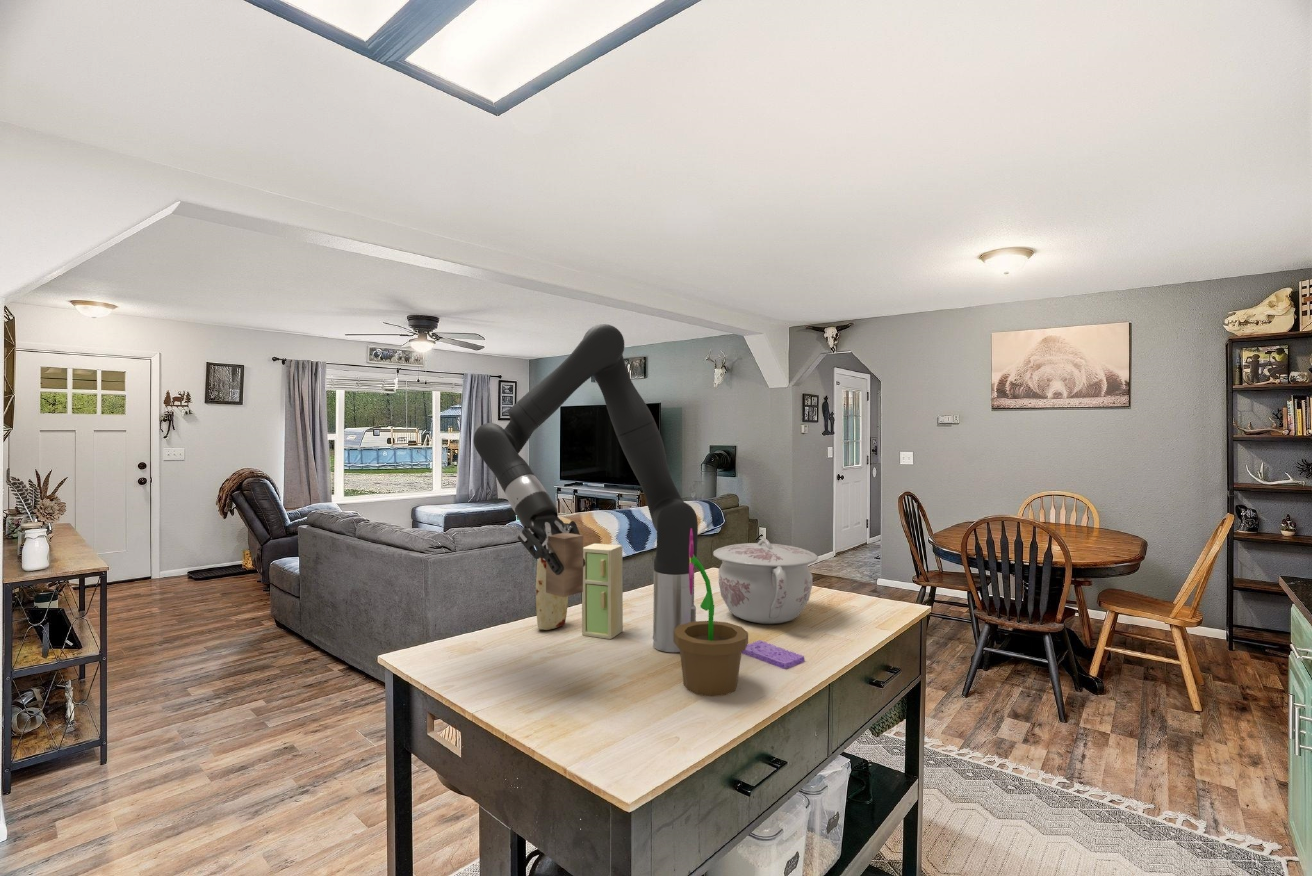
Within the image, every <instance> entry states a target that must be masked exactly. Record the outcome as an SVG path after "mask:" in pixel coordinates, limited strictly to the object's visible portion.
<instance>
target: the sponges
mask: <svg viewBox="0 0 1312 876" xmlns="http://www.w3.org/2000/svg"><path fill="white" fill-rule="evenodd" d="M742 654H743V655H745V656H748V657H751V658H754V659H756V660H759V661H761V662H764V663H768V665H769V664H770V665H772V666H775V667H777V668H779V669H786V670H787V669H789V667H790V668H792V667H794V666H797V665H800V664H802V663H805V655H802V654H799V653H796V652H794V651H790V650H788V649H784V648H782V647H779V646H777V645H774V644H771V643H769V642H767V641H763V640H761V639H759V640H756V641H753V642H752V643H748V645H747V647H746V649H745V650H743V651H742V652H741V655H742Z"/></svg>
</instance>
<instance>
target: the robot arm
mask: <svg viewBox="0 0 1312 876" xmlns="http://www.w3.org/2000/svg"><path fill="white" fill-rule="evenodd" d="M624 352H625V338H624V335H623V334H622V332H621V331H620V330H619V329H618V328H617V327H616V326H614V325H611V324H606V323H601V324H600V323H599V324H596V325H594V326H592V327H590V328H589V329H588V330H587V331H586V332H585V334H584V336H583V338H582V340H581V341H580V342H579V343H578V345H577V346H576V347H575V348H574V350H573V351H572V352H571V353H570V355H568V356H567V358H565V359H564V361H562V363H561V364H560V365H559V366H557V367H556V368H555V369H554V370H553V371H552V372H550V373H549V374H548V375H547V376H546V377H544V378H543V379H542V380H541V381H540V382H538V383H537V384H536V385H535V386H533V388H531V389H530V390H529V391H527V392H526V394H524V395H523V397H520V399H519V400H518V401H517V402H516V403H514V405H512V407H511V408H510V409H509V410H508V417H509V419H510V420H509V422H508V424H507V425H506V426H505V427H502V426H501V425H499V424H497V423H494V422H488V423H484V424H481V425H480V426H479V427H477V429H476V430H475V432H474V435H473V446H474V447H475V448H474V449H475V450H476V452H477V453H478V455H479V456H480V457H481V459H482V461H483V462H484V463H485V464H486V465H487V468H488V469H489V470H490V471H491V472H492V473H493V475H494V476H495V478H496V481H497V482H498V484H499V486H500V487H501V488H502V491H503V493H504V494H505V496H506V498H507V500H508V503H509V505H510V507H511V509H512V510H513V511H514V514H515V515H516V517H517V519H518V520H519V522H520V524H521V526H522V530H521V532H520V533H519V534H518V536H517V539H518V540H519V542H520V543H521V544H522V545H523V546H524V548H525V549H526V550H527V551H528V552H529V553H530V555H531V556H532V557H533V558H534V559H536V560H538V559H539V558H543V559H544V560H546V561H547V563H548V565H549V566H550V568H551V570H552V571H553V572H554V573H555V574H556V575H560V574H561V573H562V571H563V570H564V566H563V565H562V563H561V561H560V560H559V558H558V556H557V555H556V553H553V552H554V549H553V547H552V546H551V544H550V539H549V537H548V536H551V535H554V534H560V533H571V534H577V535H581V533H580V530H579V527H578V525H577V523H576V521H574V520H571V521H570V522H569V523H568V522H567V523H565V522H564V521H563V520H562V519H561V518H559V516H558V508H557V507H556V504H555V503H554V502H553V500H552V498H551V497H550V495H549V494H548V492H547V490H546V488H545V486H544V485H543V484H542V483H541V481H540V480H539V479H538V478H537V477H536V475H535V474H534V472H533V471H532V469H531V467H530V466H529V464H528V463H527V461H526V460H525V459H524V458H523V457H522V456H520V454H519V453H520V452H521V451H522V450H523V448H524V446H525V445H526V444H527V442H528V441H529V439H530V438H531V436H532V435H533V433H534V432H535V431H536V430H537V429H538V428H540V427H541V425H543V423H545V422H546V421H547V420H548V419H549V418H550V417H551V416H552V415H553V414H554V413H555V412H557V410H558V409H559V408H560V407H562V405H563V404H564V403H565V402H566V401H567V400H568V399H569V398H570V397H571V396H572V394H574V393H575V392H576V391H577V390H578V389H579V388H580V387H581V386H582V385H583V384H584V383H586V382H587V381H588V380H589V379H591V378H592V377H594V379H595V381H596V383H597V385H598V387H599V389H600V392H601V394H602V397H603V399H604V402H605V405H606V409H607V413H608V415H609V418H610V422H611V424H612V426H613V430H614V432H615V435H616V438H617V440H618V442H619V445H620V447H621V450H622V451H623V454H624V456H625V458H626V459H627V462H628V465H629V466H630V468H631V470H632V471H633V474H634V476H635V477H636V479H637V480H638V483H639V485H640V487H641V490H642V492H643V494H644V495H643V496H644V498H645V501H646V505H647V508H648V510H649V511H648V512H649V515H650V518H651V523H652V525H653V528H654V529H655V531H656V550H655V551H656V552H655V556H654V559H653V602H652V603H653V615H652V616H653V620H652V621H653V622H652V623H653V625H652V629H653V631H652V632H653V633H652V640H653V641H652V647H653V648H655V649H656V650H658V651H662V652H667V653H680V649H679V648H678V647H677V646H676V644H675V643H674V642H673V639H674V630H675V629H676V628H677V627H678V626H679V625H682V624H685V623H689V622H695V621H697V615H696V614H697V608H696V605H695V567H694V568H693V589H692V595H690V588H689V564H690V559H689V545H690V530H691V528H692V532H693V554H694V556H695V557H696V558H697V556H698V539H699V538H698V537H699V536H698V534H699V533H698V531H699V528H698V527H699V526H698V525H699V524H698V516H697V514H696V511H695V509H694V508H693V507H692V506H691V505H690V504H688V503H687V502H685V501H684V500H683V498H682V496H681V495H680V493H679V491H678V489H677V487H676V485H675V483H674V481H673V479H672V475H671V473H670V470H669V465H668V460H667V454H666V449H665V446H664V441H663V438H662V436H661V432H660V431H659V428H658V425H657V423H656V420H655V418H654V416H653V415H652V412H651V410H650V408H649V407H648V405H647V404H646V402H645V400H644V398H643V397H642V396H641V394H640V392H639V391H638V390H637V388H636V386H635V385H634V383H633V381H632V379H631V377H630V373H629V372H628V369H627V366H626V363H625V359H624V356H623V354H624ZM546 548H547V549H546ZM536 549H537V550H536ZM584 566H585V560H584V558H583V567H584Z"/></svg>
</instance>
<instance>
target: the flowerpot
mask: <svg viewBox="0 0 1312 876" xmlns="http://www.w3.org/2000/svg"><path fill="white" fill-rule="evenodd" d="M689 559H690V564H689V588H690V595H692V589H693V568H694V569H695V567H696V568H697V569H698V570H699V572H700V574H701V576H702V578H703V581H704V583H705V588H706V594H705V596H704V599H702V602H701V604H700V608H701V609H702V610H704V611H708V620H699V621H698V620H696V621H695V622H689V623H685V624H682V625H679V626H678V627H677V628H676V629H675V630H674V639H673V642H674V643H675V644H676V646H677V647H678V648H679V649H680V652H679V655H680V665H681V673H682V681H683V683H682V684H683V685H684V686H685V688H686V690H687V691H690V692H692V693H694V694H696V695H700V696H708V697H719V696H726V695H729V694H731V693H733V692H735V691H736V689H737V687H738V681H739V673H740V665H741V658H742V653H741V652H742V651H743V650H745V649H746V647H747V645H748V644H749V632H748V631H747V630H746V629H744V628H743V626H740V625H737V624H733V623H730V622H726V621H716V620H714V615H715V604H714V597H713V596H714V595H713V592H712V585H711V580H710V578H709V577H708V574H707V572H706V570H705V568H704V566H703V564H702V563H701V562H700V560H699V559H698V558H697V557H695V556H694V554H693V532H692V528H691V530H690V545H689Z"/></svg>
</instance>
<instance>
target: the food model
mask: <svg viewBox="0 0 1312 876" xmlns="http://www.w3.org/2000/svg"><path fill="white" fill-rule="evenodd" d="M536 560H537V562H536V565H537V566H536V580H535V604H536V605H535V607H536V609H535V610H536V621H537V623H536V624H537V628H538V630H541V631H542V630H545V631H549V630H554V629H557V628H560V627H563V626H565V624H566V621H567V620H566V619H567V613H568V607H569V606H568V605H569V604H568V603H569V597H570V596H566V597H561V596H557V595H553V594H549V593H546V560H544V559H543V558H539V559H536Z"/></svg>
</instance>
